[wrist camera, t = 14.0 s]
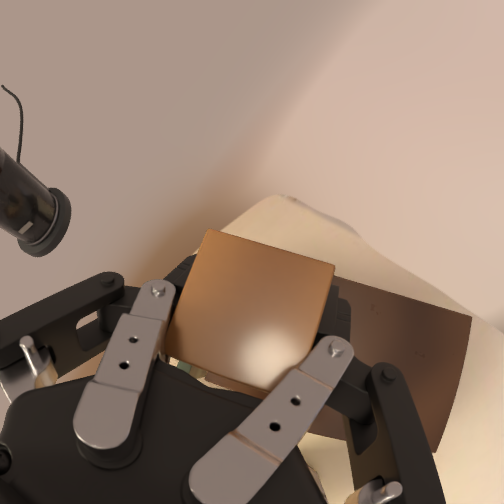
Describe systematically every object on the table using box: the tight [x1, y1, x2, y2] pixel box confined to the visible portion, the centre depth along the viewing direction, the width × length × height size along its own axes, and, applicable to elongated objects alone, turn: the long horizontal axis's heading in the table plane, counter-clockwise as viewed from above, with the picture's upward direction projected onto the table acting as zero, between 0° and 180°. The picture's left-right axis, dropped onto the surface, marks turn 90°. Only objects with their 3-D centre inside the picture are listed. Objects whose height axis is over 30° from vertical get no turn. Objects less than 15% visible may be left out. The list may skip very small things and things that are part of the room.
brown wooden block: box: [165, 229, 335, 394], centre depth 14 cm, size 5×5×10 cm
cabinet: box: [307, 275, 472, 453], centre depth 25 cm, size 15×13×9 cm
